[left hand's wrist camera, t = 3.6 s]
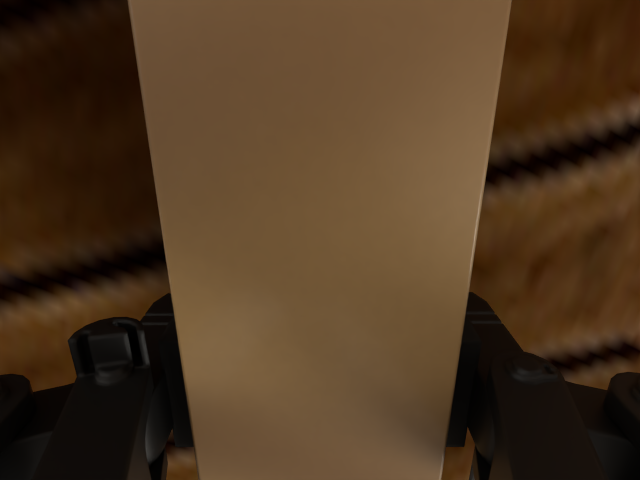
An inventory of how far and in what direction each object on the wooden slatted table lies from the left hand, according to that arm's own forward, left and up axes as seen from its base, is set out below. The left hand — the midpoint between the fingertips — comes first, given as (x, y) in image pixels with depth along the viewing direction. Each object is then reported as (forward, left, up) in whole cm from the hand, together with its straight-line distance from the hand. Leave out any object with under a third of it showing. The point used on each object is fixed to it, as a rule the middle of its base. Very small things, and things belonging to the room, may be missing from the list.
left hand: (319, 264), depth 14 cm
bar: (+7, +21, -1) cm, 22 cm away
